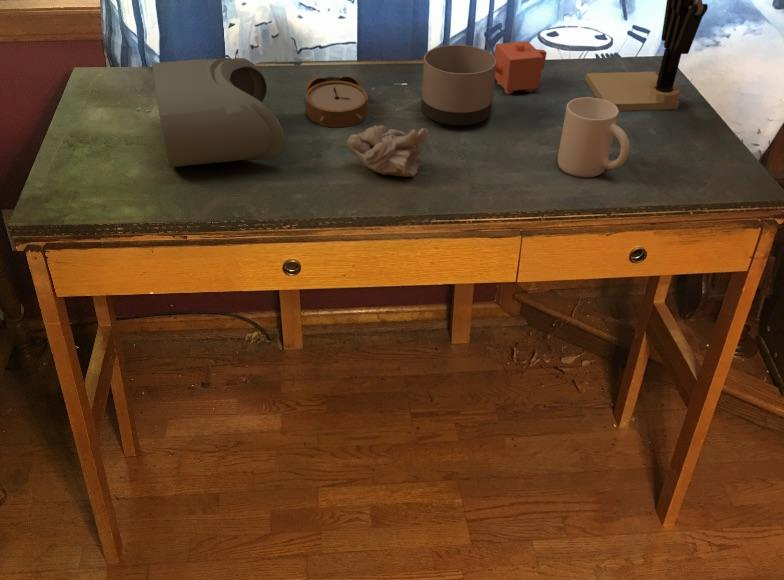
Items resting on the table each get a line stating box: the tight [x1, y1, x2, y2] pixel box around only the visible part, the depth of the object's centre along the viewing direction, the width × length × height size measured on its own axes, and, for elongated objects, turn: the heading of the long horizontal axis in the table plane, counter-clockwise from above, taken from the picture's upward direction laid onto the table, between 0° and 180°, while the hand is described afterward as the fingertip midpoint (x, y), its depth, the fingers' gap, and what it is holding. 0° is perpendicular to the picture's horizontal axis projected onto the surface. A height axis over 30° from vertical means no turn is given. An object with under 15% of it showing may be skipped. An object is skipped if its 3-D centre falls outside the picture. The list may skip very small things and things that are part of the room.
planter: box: [420, 44, 497, 127], centre depth 154 cm, size 13×13×10 cm
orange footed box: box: [493, 40, 547, 94], centre depth 165 cm, size 8×12×8 cm, turn 105°
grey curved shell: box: [151, 57, 286, 168], centre depth 143 cm, size 22×19×13 cm
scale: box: [584, 71, 681, 112], centre depth 165 cm, size 14×14×3 cm
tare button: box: [656, 86, 672, 93], centre depth 162 cm, size 3×3×2 cm
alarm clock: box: [305, 75, 368, 128], centre depth 158 cm, size 11×5×15 cm
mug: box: [557, 96, 630, 178], centre depth 140 cm, size 12×8×10 cm
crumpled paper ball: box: [346, 124, 429, 178], centre depth 140 cm, size 8×10×12 cm
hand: (664, 85), depth 161 cm, fingers closed
